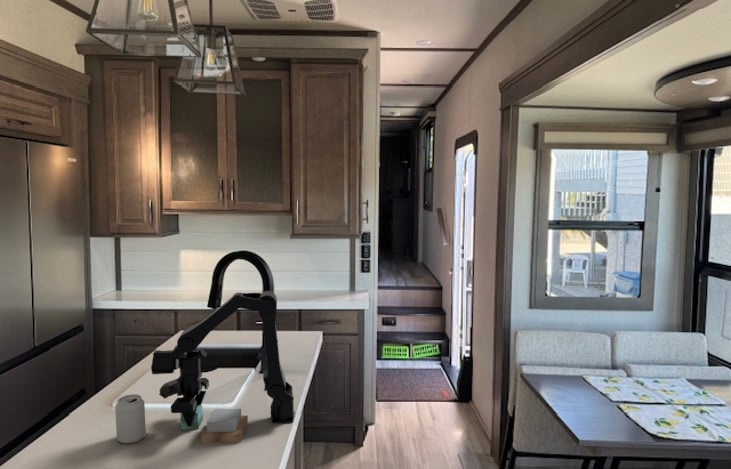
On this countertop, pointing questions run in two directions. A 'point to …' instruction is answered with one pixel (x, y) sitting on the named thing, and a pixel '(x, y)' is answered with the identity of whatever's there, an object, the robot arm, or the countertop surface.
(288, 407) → the robot arm
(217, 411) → the grey block
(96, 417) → the countertop surface
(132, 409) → the can
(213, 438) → the walnut slab
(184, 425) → the teal block
